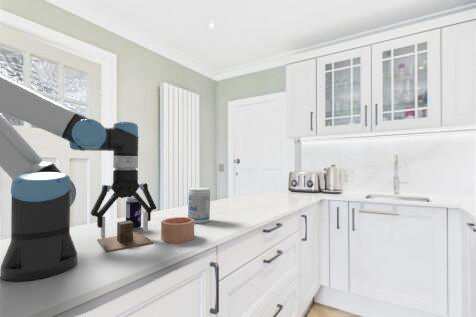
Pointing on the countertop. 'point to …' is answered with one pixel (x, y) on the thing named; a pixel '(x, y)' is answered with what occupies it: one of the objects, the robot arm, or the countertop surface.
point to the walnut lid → (124, 238)
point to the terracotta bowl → (177, 229)
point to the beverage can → (133, 212)
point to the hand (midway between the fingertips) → (125, 234)
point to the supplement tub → (199, 204)
